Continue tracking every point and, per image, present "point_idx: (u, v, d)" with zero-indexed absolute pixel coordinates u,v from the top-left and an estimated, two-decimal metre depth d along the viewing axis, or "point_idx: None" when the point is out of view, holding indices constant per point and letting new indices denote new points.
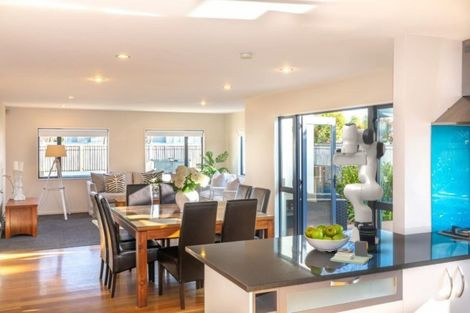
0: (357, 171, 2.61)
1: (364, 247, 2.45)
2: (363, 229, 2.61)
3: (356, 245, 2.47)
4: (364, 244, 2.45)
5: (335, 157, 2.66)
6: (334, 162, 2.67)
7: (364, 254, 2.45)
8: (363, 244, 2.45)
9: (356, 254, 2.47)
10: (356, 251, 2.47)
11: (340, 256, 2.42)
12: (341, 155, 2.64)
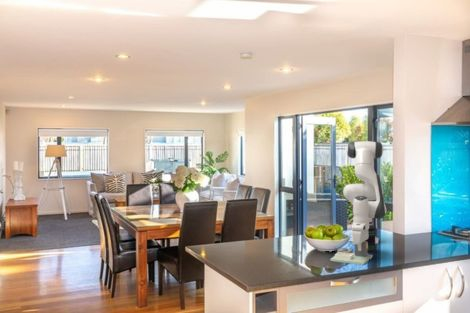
0: None
1: (364, 247, 2.45)
2: None
3: (356, 245, 2.47)
4: (364, 244, 2.45)
5: (361, 235, 2.40)
6: (360, 241, 2.39)
7: (364, 254, 2.45)
8: (363, 244, 2.45)
9: (356, 254, 2.47)
10: (356, 251, 2.47)
11: (340, 256, 2.42)
12: (362, 232, 2.43)
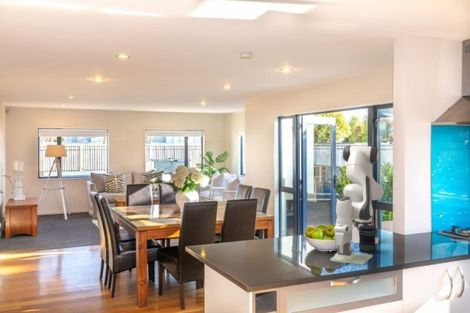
0: None
1: (347, 249, 2.41)
2: (363, 229, 2.61)
3: None
4: (347, 246, 2.41)
5: (343, 237, 2.36)
6: (342, 242, 2.35)
7: None
8: (346, 246, 2.41)
9: None
10: (339, 253, 2.43)
11: (340, 256, 2.42)
12: (345, 233, 2.39)
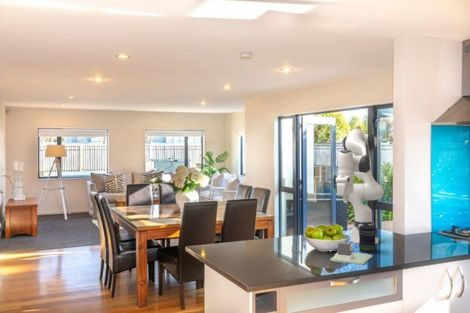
0: (347, 200, 2.50)
1: (347, 249, 2.41)
2: (363, 229, 2.61)
3: (339, 247, 2.43)
4: (347, 246, 2.41)
5: (345, 187, 2.42)
6: (344, 192, 2.42)
7: None
8: (346, 246, 2.41)
9: None
10: (339, 253, 2.43)
11: (340, 256, 2.42)
12: (347, 184, 2.45)
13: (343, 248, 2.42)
